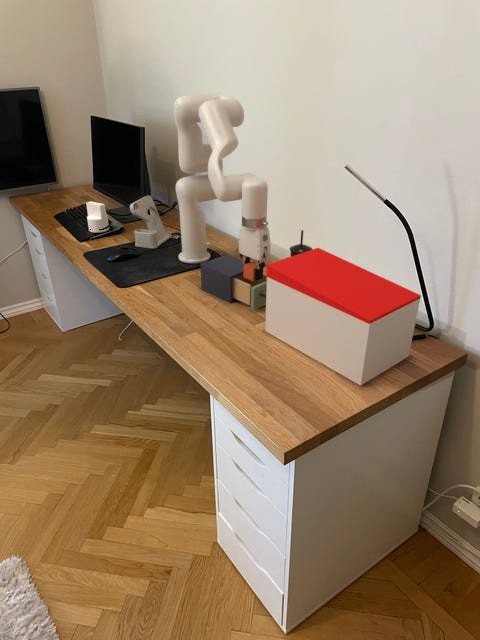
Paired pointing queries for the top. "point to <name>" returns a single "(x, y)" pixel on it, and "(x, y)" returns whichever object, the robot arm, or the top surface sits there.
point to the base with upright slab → (97, 217)
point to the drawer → (250, 291)
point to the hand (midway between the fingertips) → (253, 276)
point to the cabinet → (221, 276)
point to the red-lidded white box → (340, 313)
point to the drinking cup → (299, 247)
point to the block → (249, 271)
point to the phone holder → (148, 224)
